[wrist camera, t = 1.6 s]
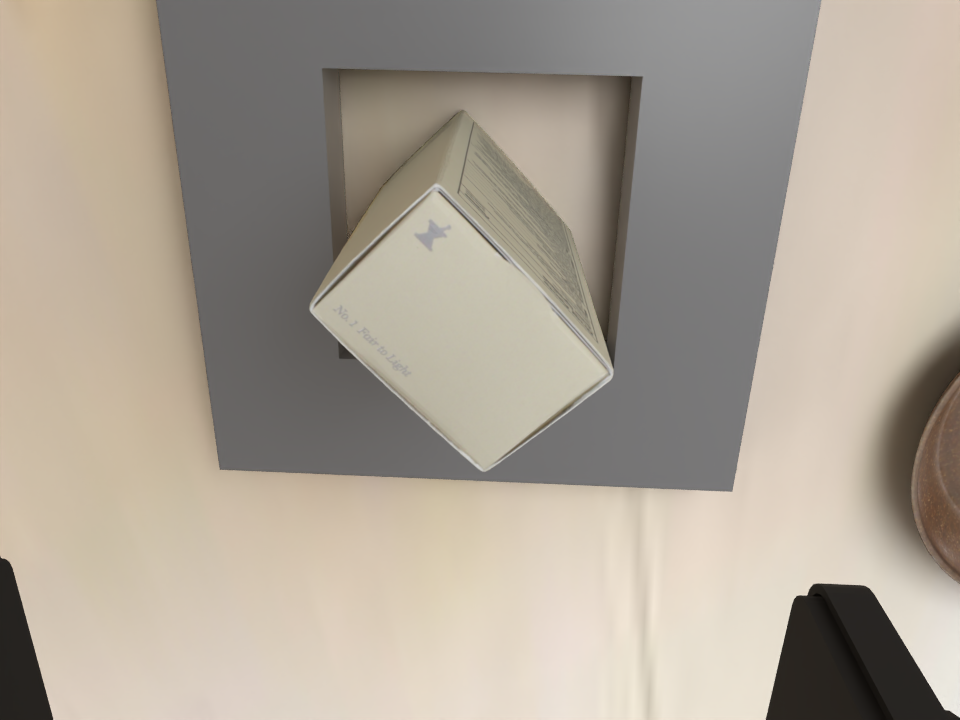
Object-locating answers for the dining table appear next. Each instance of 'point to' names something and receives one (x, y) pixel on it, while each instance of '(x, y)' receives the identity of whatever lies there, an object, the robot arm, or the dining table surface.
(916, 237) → the dining table surface
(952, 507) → the saucer
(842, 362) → the dining table surface
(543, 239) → the skincare box
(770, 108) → the socket block
